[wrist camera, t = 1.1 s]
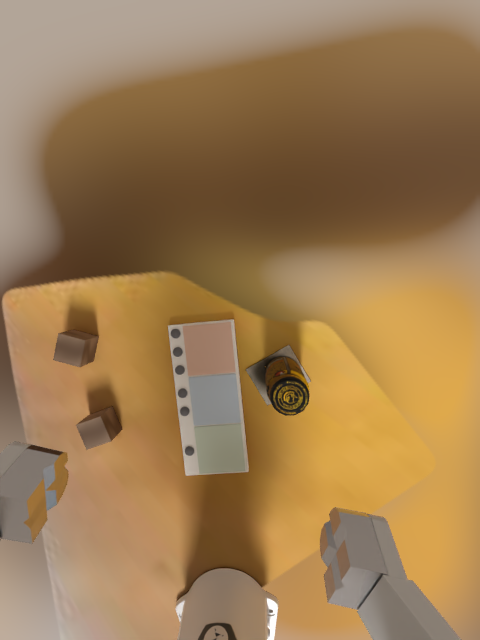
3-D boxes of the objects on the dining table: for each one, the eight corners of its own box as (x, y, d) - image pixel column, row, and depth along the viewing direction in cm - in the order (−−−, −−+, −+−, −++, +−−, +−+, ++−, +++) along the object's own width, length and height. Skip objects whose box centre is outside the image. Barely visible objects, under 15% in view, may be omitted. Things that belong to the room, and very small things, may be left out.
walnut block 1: (93, 360, 57) (79, 367, 52) (69, 354, 57) (53, 360, 52) (99, 336, 56) (85, 340, 52) (74, 329, 56) (58, 333, 52)
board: (248, 468, 57) (248, 472, 56) (187, 471, 58) (185, 476, 56) (234, 319, 54) (233, 320, 53) (169, 324, 55) (167, 325, 54)
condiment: (310, 381, 55) (325, 407, 43) (267, 405, 56) (269, 437, 44) (288, 344, 54) (297, 360, 42) (245, 369, 55) (241, 392, 43)
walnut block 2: (122, 429, 58) (111, 441, 53) (99, 437, 58) (86, 449, 54) (112, 406, 57) (100, 416, 53) (90, 414, 58) (75, 425, 53)
